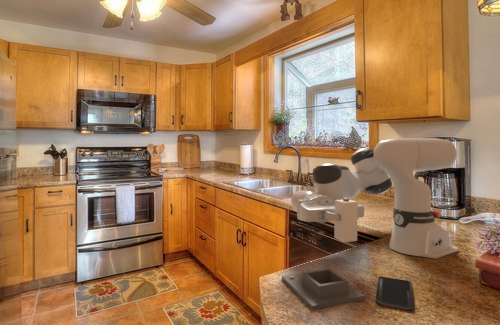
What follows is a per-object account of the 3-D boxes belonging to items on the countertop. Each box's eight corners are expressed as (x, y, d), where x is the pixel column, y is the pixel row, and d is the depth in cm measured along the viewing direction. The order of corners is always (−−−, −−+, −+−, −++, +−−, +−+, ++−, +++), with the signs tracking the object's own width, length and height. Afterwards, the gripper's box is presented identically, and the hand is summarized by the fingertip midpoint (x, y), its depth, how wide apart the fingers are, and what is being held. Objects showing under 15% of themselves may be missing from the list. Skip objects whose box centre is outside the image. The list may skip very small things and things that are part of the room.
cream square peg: (347, 236, 87) (347, 197, 86) (357, 240, 82) (357, 199, 82) (334, 237, 85) (334, 198, 85) (343, 242, 81) (344, 200, 81)
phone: (375, 301, 67) (378, 275, 81) (375, 306, 67) (378, 279, 81) (415, 309, 64) (411, 281, 77) (415, 314, 64) (411, 285, 77)
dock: (326, 272, 85) (326, 258, 85) (364, 299, 70) (364, 283, 69) (281, 279, 80) (281, 265, 80) (312, 310, 65) (312, 292, 65)
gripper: (347, 215, 99) (377, 225, 86) (293, 220, 93) (316, 231, 80) (348, 196, 99) (378, 203, 86) (293, 200, 93) (316, 208, 79)
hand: (347, 217), depth 83 cm, fingers closed on cream square peg, 4 cm apart
